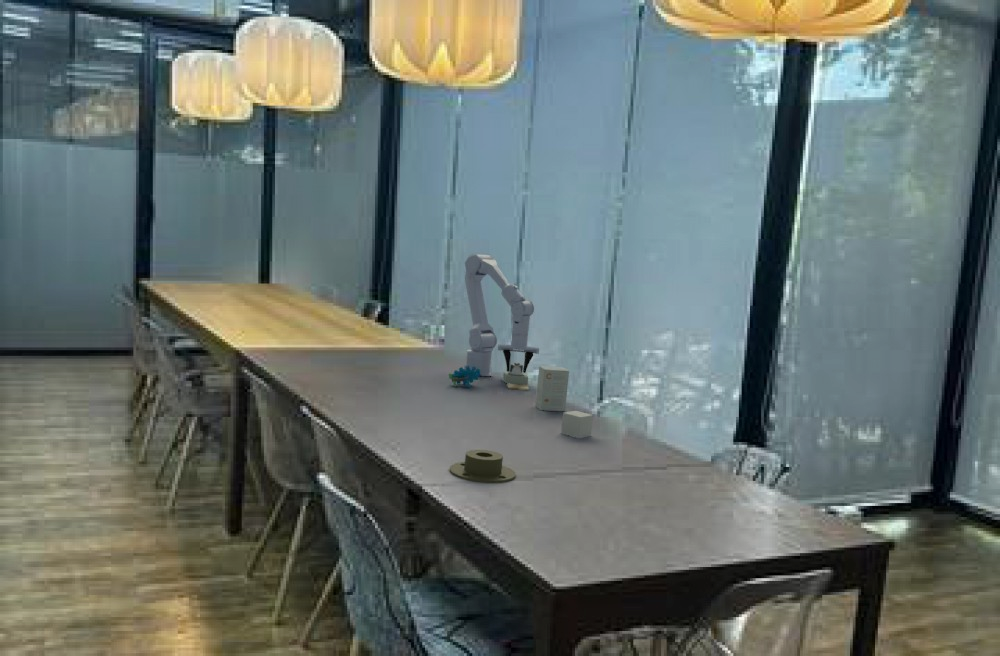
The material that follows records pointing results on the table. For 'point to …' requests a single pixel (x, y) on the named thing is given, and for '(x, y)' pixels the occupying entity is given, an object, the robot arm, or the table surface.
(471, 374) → the toy stegosaurus
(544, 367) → the small box
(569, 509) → the table surface
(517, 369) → the grey cylinder
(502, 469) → the flange
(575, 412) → the light grey cube
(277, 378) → the table surface
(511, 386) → the coaster
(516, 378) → the housing
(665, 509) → the table surface
